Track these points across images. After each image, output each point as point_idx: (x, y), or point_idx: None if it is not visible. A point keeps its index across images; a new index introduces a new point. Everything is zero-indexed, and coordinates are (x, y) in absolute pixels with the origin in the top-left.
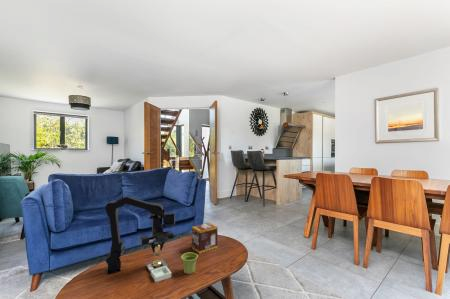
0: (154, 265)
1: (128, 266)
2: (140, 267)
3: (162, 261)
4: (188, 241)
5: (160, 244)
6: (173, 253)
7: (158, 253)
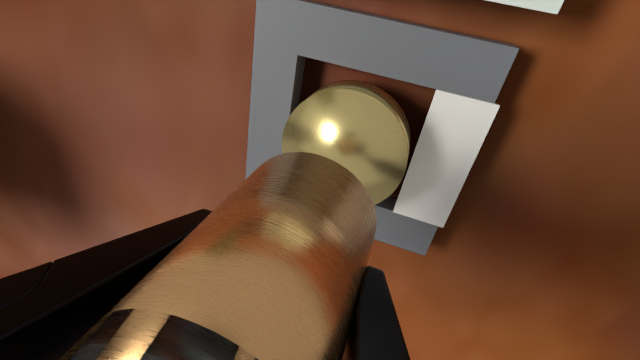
0: (403, 123)
1: (553, 357)
2: (489, 259)
3: (264, 158)
4: (4, 265)
5: (68, 350)
6: (130, 219)
7: (294, 173)
